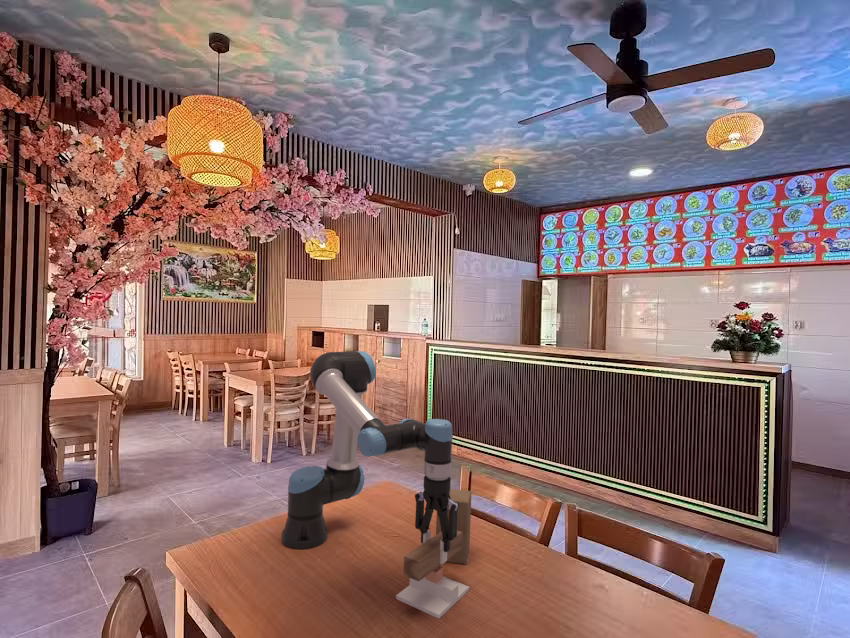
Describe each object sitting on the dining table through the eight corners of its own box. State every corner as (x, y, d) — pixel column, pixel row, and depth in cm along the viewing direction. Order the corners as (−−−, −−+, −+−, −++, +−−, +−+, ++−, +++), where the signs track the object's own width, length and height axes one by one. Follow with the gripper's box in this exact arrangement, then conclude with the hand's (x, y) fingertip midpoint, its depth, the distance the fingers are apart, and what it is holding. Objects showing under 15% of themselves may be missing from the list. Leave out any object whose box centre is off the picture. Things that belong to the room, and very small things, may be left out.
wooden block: (466, 565, 150) (468, 502, 150) (434, 560, 152) (436, 498, 152) (469, 550, 160) (471, 490, 160) (440, 546, 162) (442, 487, 162)
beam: (403, 574, 126) (404, 556, 126) (447, 543, 144) (448, 527, 144) (418, 581, 123) (419, 562, 123) (461, 548, 142) (462, 532, 141)
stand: (396, 598, 132) (396, 571, 132) (428, 573, 145) (429, 549, 145) (438, 618, 124) (439, 590, 124) (469, 590, 137) (470, 564, 137)
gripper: (403, 472, 136) (400, 554, 136) (458, 487, 126) (455, 575, 126) (418, 466, 142) (416, 544, 142) (472, 479, 132) (469, 563, 132)
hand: (434, 558), depth 134 cm, fingers closed on beam, 5 cm apart
